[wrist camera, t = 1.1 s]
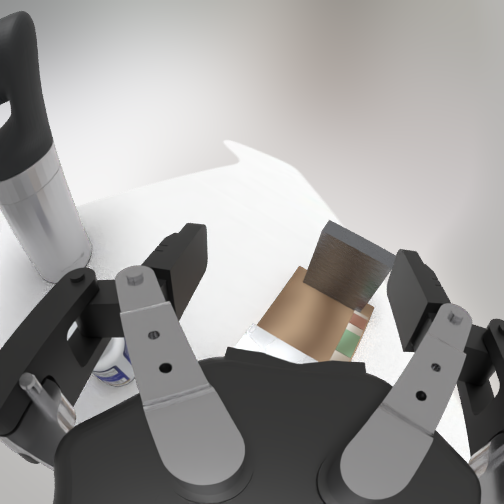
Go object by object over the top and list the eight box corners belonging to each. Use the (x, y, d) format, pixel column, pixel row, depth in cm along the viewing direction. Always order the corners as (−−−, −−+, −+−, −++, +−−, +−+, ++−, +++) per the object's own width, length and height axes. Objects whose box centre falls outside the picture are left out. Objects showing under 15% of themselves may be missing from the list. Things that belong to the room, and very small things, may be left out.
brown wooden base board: (202, 398, 27) (201, 396, 26) (297, 271, 38) (299, 264, 37) (295, 455, 24) (298, 455, 22) (370, 312, 35) (375, 306, 34)
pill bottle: (111, 335, 30) (83, 293, 23) (148, 356, 29) (125, 319, 22) (88, 371, 27) (50, 338, 20) (124, 396, 26) (92, 370, 19)
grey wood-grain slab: (302, 282, 36) (322, 230, 29) (309, 271, 37) (329, 220, 30) (359, 313, 33) (391, 268, 27) (364, 301, 35) (396, 255, 28)
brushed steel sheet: (230, 391, 26) (234, 347, 17) (242, 375, 27) (252, 323, 18) (313, 439, 23) (368, 423, 14) (323, 422, 24) (381, 395, 15)
